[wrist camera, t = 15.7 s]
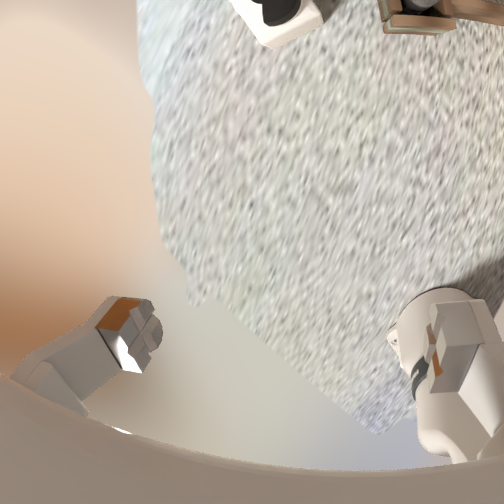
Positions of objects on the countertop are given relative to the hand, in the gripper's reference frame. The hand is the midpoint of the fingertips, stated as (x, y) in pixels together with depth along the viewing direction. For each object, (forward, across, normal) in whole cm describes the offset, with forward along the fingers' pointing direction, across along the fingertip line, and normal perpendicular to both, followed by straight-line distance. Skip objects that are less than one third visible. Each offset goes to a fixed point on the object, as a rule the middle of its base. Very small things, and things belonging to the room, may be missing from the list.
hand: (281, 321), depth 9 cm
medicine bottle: (+34, +3, -15) cm, 38 cm away
